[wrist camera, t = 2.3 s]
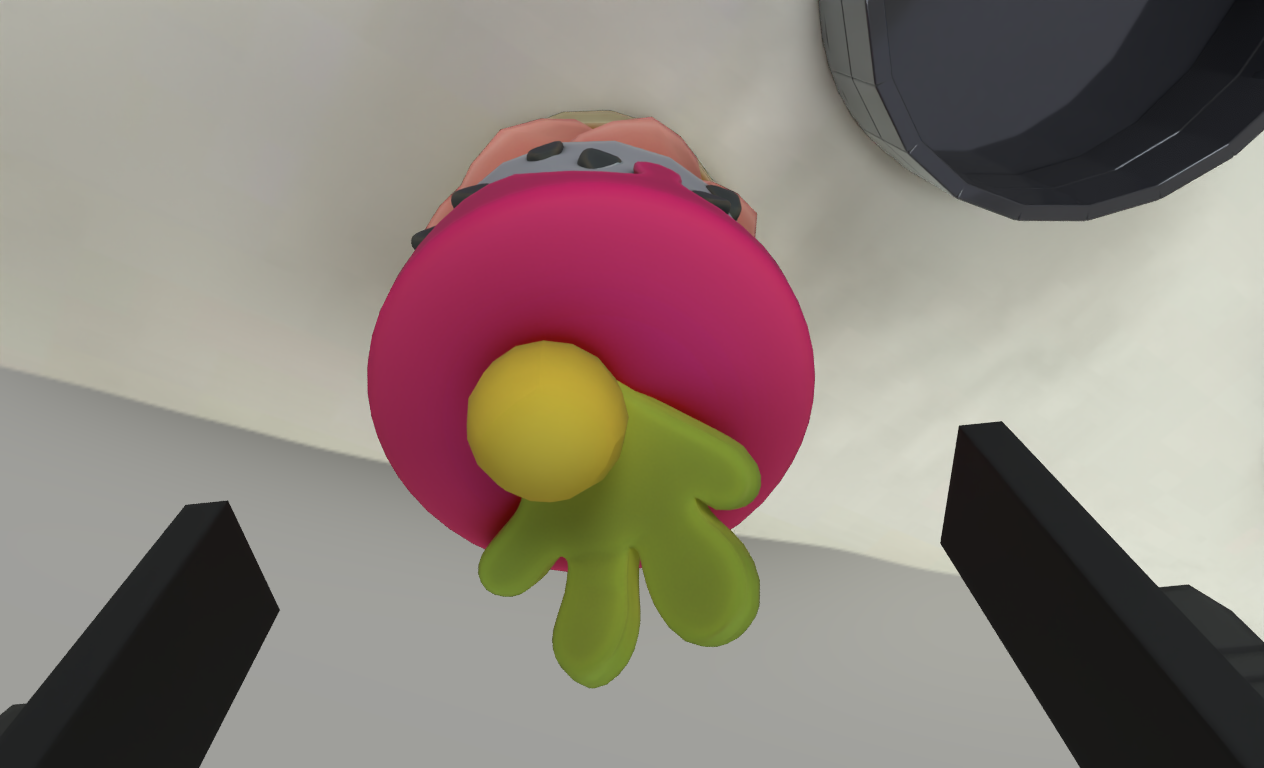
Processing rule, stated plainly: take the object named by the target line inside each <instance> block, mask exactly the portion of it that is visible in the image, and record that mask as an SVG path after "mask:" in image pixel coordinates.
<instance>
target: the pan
mask: <svg viewBox="0 0 1264 768" xmlns="http://www.w3.org/2000/svg"><path fill="white" fill-rule="evenodd" d="M819 12H820V21H821V30H822V39H823V43H824V48H825V52H826V56H827V60H828V64H829V68H830V71H831V73H832V76H833V78H834V81H835V84H836V86H837V89H838V91H839V94H840V95H841V97H842V99H843V101H844V103H845V104H846V106H847V108H848V110H849V111H850V113H851V115H852V117H853V118H854V119H855V120H856V122H857V123H858V124H859V126H860V127H861V128H862V129H863V131H864V132H865V133H866V134H867V136H868V137H869V138H871V139H872V140H873V141H874V142H875V143H876V144H877V145H878V146H879V147H880V148H881V149H882V150H883V151H884V152H886V153H887V154H889V155H890V156H892V157H893V158H894V159H895V160H896V161H897V162H898V163H899V164H901V165H902V166H903V167H904V168H906V169H907V170H909V171H911V172H912V173H914V174H916V175H917V176H919V177H921V178H922V179H924V180H926V181H928V182H929V183H931V184H933V185H934V186H936V187H938V188H940V189H941V190H943V191H945V192H946V193H948V194H950V195H951V196H953V197H955V198H957V199H959V200H962V201H964V202H967V203H970V204H972V205H975V206H978V207H980V208H983V209H986V210H989V211H991V212H994V213H997V214H999V215H1002V216H1005V217H1007V218H1010V219H1013V220H1018V221H1086V220H1087V221H1088V220H1092V219H1095V218H1099V217H1102V216H1105V215H1109V214H1112V213H1116V212H1119V211H1122V210H1126V209H1129V208H1133V207H1136V206H1140V205H1143V204H1146V203H1150V202H1153V201H1157V200H1159V199H1161V198H1164V197H1165V196H1167V195H1169V194H1171V193H1172V192H1174V191H1176V190H1177V189H1179V188H1181V187H1183V186H1184V185H1186V184H1188V183H1190V182H1191V181H1193V180H1195V179H1196V178H1198V177H1200V176H1202V175H1203V174H1205V173H1207V172H1209V171H1210V170H1212V169H1214V168H1215V167H1217V166H1219V165H1221V164H1222V163H1224V162H1226V161H1228V160H1229V159H1231V158H1233V156H1235V155H1237V154H1238V153H1239V152H1240V151H1241V150H1242V149H1243V148H1245V147H1246V146H1247V145H1248V144H1249V143H1250V142H1251V141H1252V140H1253V139H1255V138H1256V137H1257V136H1258V135H1259V134H1260V133H1261V132H1262V131H1263V130H1264V0H819Z"/></svg>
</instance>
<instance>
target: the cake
mask: <svg viewBox="0 0 1264 768" xmlns="http://www.w3.org/2000/svg"><path fill="white" fill-rule="evenodd" d="M756 221H757V213H756V212H755V211H754V210H753V209H752V208H751V207H750V206H749V205H748V204H747V203H746V202H745V201H744V200H743V199H742V198H741V197H740V196H739V195H738V194H737V193H735V192H733V191H731V190H729V189H727V188H725V187H723V186H721V185H719V184H716V183H714V182H713V180H712V179H711V178H710V176H709V175H708V173H707V172H706V170H705V169H704V168H703V166H702V165H701V163H700V162H699V160H698V159H697V157H696V156H695V155H694V153H693V152H692V151H691V150H690V148H689V147H688V146H687V144H686V143H685V142H684V140H683V139H682V138H681V136H679V135H678V134H676V133H675V132H673V131H672V130H671V129H669V128H668V127H666V126H665V125H663V124H662V123H660V122H659V121H657V120H656V119H654V118H653V117H646V118H637V119H636V118H633V117H630V116H626V115H623V114H620V113H617V112H614V111H579V112H562V113H559V114H557V115H554V116H551V117H549V118H546V119H538V120H534V121H530V122H527V123H523V124H519V125H516V126H512V127H508V128H504V129H501V130H500V131H499V132H498V133H497V134H496V135H495V137H494V138H493V139H492V140H491V141H490V143H489V144H488V145H487V146H486V147H485V148H484V150H483V151H482V152H481V153H480V154H479V156H478V157H477V158H476V159H475V160H474V161H473V163H472V164H471V165H470V167H469V170H468V172H467V174H466V176H465V178H464V180H463V182H462V184H461V186H460V187H459V188H458V189H457V190H456V191H455V192H454V193H452V194H451V195H450V196H449V197H448V198H447V199H446V200H445V201H444V202H443V203H442V204H441V205H440V206H439V208H438V209H437V211H436V213H435V214H434V216H433V217H432V219H431V221H430V222H429V224H428V226H427V227H426V229H425V230H423V231H420V232H418V233H416V234H415V235H414V236H413V237H412V240H411V244H412V247H413V248H414V250H415V251H414V252H413V254H412V255H411V257H410V258H409V260H408V261H407V262H406V264H405V265H404V267H403V268H402V270H401V271H400V273H399V274H398V276H397V278H396V280H395V282H394V284H393V286H392V288H391V290H390V292H389V294H388V296H387V298H386V300H385V302H384V304H383V306H382V308H381V310H380V312H379V316H378V319H377V322H376V325H375V328H374V331H373V334H372V339H371V346H370V352H369V358H368V367H367V378H368V398H369V404H370V410H371V416H372V419H373V423H374V426H375V430H376V433H377V436H378V439H379V441H380V443H381V445H382V448H383V450H384V452H385V455H386V457H387V459H388V460H389V462H390V464H391V465H392V467H393V469H394V471H395V472H396V474H397V475H398V477H399V478H400V480H401V481H402V482H403V484H404V485H405V486H406V488H407V489H408V490H409V491H410V493H411V494H412V495H413V496H414V497H415V498H416V499H417V500H418V501H419V502H420V504H421V505H422V506H423V507H424V508H425V509H426V510H427V511H428V512H429V513H431V514H432V515H433V516H434V517H435V518H437V519H438V520H439V521H440V522H441V523H443V524H444V525H445V526H446V527H448V528H449V529H450V530H452V531H454V532H455V533H457V534H458V535H460V536H462V537H463V538H465V539H466V540H468V541H470V542H471V543H473V544H475V545H477V546H479V547H481V548H483V549H485V551H484V552H483V554H482V556H481V559H480V562H479V567H478V568H479V569H478V574H479V577H480V580H481V583H482V584H483V586H484V587H485V588H486V590H488V591H489V592H491V593H493V594H495V595H500V596H503V597H504V596H505V597H513V596H516V595H520V594H522V593H523V592H525V591H526V590H528V589H529V588H531V586H533V585H534V584H536V583H537V582H538V581H539V580H541V579H542V578H543V577H544V576H545V575H546V574H547V573H548V571H549V570H558V571H566V572H568V574H567V583H566V588H565V594H564V597H563V600H562V603H561V606H560V609H559V612H558V615H557V619H556V622H555V626H554V630H553V638H552V643H553V650H554V654H555V657H556V659H557V661H558V663H559V664H560V666H561V668H562V669H563V670H564V671H565V672H566V673H567V674H568V675H569V676H570V677H571V678H572V679H573V680H574V681H576V682H577V683H579V684H581V685H584V686H586V687H588V688H597V687H600V686H603V685H606V684H608V683H609V682H610V681H612V680H613V679H614V678H615V677H617V676H618V675H619V674H620V672H621V671H622V670H623V669H624V667H625V666H626V665H627V664H628V662H629V660H630V658H631V656H632V653H633V652H634V649H635V645H636V642H637V638H638V634H639V627H640V598H639V568H642V569H643V573H644V577H645V581H646V584H647V588H648V590H649V593H650V595H651V598H652V600H653V603H654V605H655V607H656V608H657V610H658V612H659V614H660V615H661V617H662V618H663V619H664V621H665V622H666V624H667V625H668V626H669V628H670V629H672V630H673V631H674V632H675V633H676V634H677V635H679V636H680V637H681V638H682V639H683V640H685V641H687V642H690V643H693V644H696V645H700V646H705V647H718V646H721V645H724V644H728V643H729V642H731V641H733V640H735V639H737V638H738V637H739V636H741V635H742V634H743V633H744V632H745V631H746V630H747V628H748V627H749V626H750V624H751V623H752V621H753V620H754V618H755V617H756V614H757V611H758V608H759V603H760V601H759V600H760V580H759V576H758V573H757V570H756V566H755V563H754V561H753V559H752V557H751V556H750V554H749V552H748V551H747V549H746V547H745V546H744V544H743V543H742V542H741V541H740V540H739V539H738V538H737V536H736V535H735V534H734V533H733V532H732V531H731V529H732V528H734V527H735V526H737V525H738V524H740V523H741V522H742V521H743V520H744V519H745V518H746V517H747V516H749V515H750V514H751V513H752V512H753V511H754V510H755V509H756V508H757V507H759V506H760V505H761V504H762V503H763V502H764V501H765V499H766V498H767V497H768V496H769V494H770V493H771V492H772V491H773V490H774V488H775V487H776V486H777V485H778V484H779V482H780V481H781V480H782V478H783V476H784V475H785V473H786V471H787V470H788V468H789V467H790V465H791V464H792V462H793V460H794V458H795V456H796V454H797V452H798V450H799V448H800V446H801V444H802V441H803V438H804V435H805V432H806V429H807V426H808V424H809V420H810V415H811V410H812V405H813V397H814V384H815V371H814V356H813V348H812V344H811V340H810V335H809V331H808V326H807V324H806V321H805V318H804V316H803V313H802V310H801V308H800V305H799V302H798V300H797V298H796V296H795V295H794V293H793V291H792V289H791V287H790V285H789V283H788V282H787V280H786V278H785V276H784V274H783V273H782V271H781V269H780V268H779V266H778V264H777V263H776V262H775V260H774V259H773V258H772V257H771V255H770V254H769V253H768V251H767V250H766V249H765V248H764V246H763V245H762V244H761V243H760V242H759V241H758V240H757V239H756V238H755V233H756Z"/></svg>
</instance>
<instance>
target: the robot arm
mask: <svg viewBox="0 0 1264 768" xmlns="http://www.w3.org/2000/svg"><path fill="white" fill-rule="evenodd" d="M940 544H941V545H942V547H943V548H944V550H945V552H946V553H947V555H948V556H949V558H950V560H951V561H952V563H953V564H954V566H955V568H956V569H957V571H958V572H959V574H960V576H961V577H962V579H963V580H964V582H965V584H966V585H967V587H968V588H969V590H970V592H971V593H972V595H973V596H974V598H975V600H976V601H977V603H978V604H979V606H980V607H981V609H982V611H983V612H984V614H985V616H986V617H987V619H988V620H989V622H990V624H991V625H992V627H993V629H994V630H995V631H996V633H997V635H998V636H999V638H1000V640H1001V641H1002V643H1003V644H1004V646H1005V648H1006V649H1007V651H1008V652H1009V654H1010V656H1011V657H1012V659H1013V661H1014V662H1015V664H1016V665H1017V667H1018V669H1019V670H1020V672H1021V673H1022V675H1023V676H1024V678H1025V680H1026V681H1027V683H1028V684H1029V686H1030V688H1031V689H1032V691H1033V692H1034V694H1035V696H1036V697H1037V699H1038V701H1039V702H1040V704H1041V705H1042V707H1043V709H1044V710H1045V712H1046V714H1047V715H1048V717H1049V718H1050V719H1051V721H1052V723H1053V725H1054V726H1055V728H1056V730H1057V731H1058V733H1059V734H1060V736H1061V738H1062V739H1063V741H1064V742H1065V744H1066V746H1067V747H1068V749H1069V750H1070V752H1071V754H1072V755H1073V757H1074V758H1075V760H1076V762H1077V763H1078V765H1079V766H1080V768H1264V642H1263V641H1262V640H1261V639H1260V638H1259V637H1258V636H1257V635H1256V634H1255V633H1254V632H1253V631H1252V630H1251V629H1250V628H1249V627H1248V626H1247V625H1246V624H1245V623H1244V622H1243V621H1242V620H1241V619H1239V618H1238V617H1237V616H1236V615H1235V614H1234V613H1233V612H1232V611H1231V610H1229V609H1228V608H1226V607H1224V606H1223V605H1221V604H1219V603H1218V602H1216V601H1215V600H1213V599H1211V598H1210V597H1208V596H1206V595H1205V594H1203V593H1202V592H1200V591H1198V590H1197V589H1195V588H1193V587H1192V586H1190V585H1179V586H1169V587H1158V586H1157V585H1156V584H1155V583H1154V582H1153V581H1152V580H1151V579H1150V578H1149V577H1148V576H1147V574H1146V573H1145V572H1144V571H1143V570H1142V569H1141V568H1140V567H1139V566H1138V565H1137V564H1136V563H1135V562H1134V561H1133V560H1132V559H1131V558H1130V556H1129V555H1128V554H1127V553H1126V552H1125V551H1124V550H1123V549H1122V548H1121V547H1120V546H1119V545H1118V544H1117V543H1116V542H1115V541H1114V540H1113V538H1112V537H1111V536H1110V535H1109V534H1108V533H1107V532H1106V531H1105V530H1104V529H1103V528H1102V527H1101V526H1100V525H1099V524H1098V523H1097V522H1096V520H1095V519H1094V518H1093V517H1092V516H1091V515H1090V514H1089V513H1088V512H1087V511H1086V510H1085V509H1084V508H1083V507H1082V506H1081V505H1080V503H1079V502H1078V501H1077V500H1076V499H1075V498H1074V497H1073V496H1072V495H1071V494H1070V493H1069V492H1068V491H1067V490H1066V489H1065V488H1064V487H1063V485H1062V484H1061V483H1060V482H1059V481H1058V480H1057V479H1056V478H1055V477H1054V476H1053V475H1052V474H1051V473H1050V472H1049V471H1048V470H1047V469H1046V467H1045V466H1044V465H1043V464H1042V463H1041V462H1040V461H1039V460H1038V459H1037V458H1036V457H1035V456H1034V455H1033V454H1032V453H1031V452H1030V451H1029V449H1028V448H1027V447H1026V446H1025V445H1024V444H1023V443H1022V442H1021V441H1020V440H1019V439H1018V438H1017V437H1016V436H1015V435H1014V434H1013V433H1012V431H1011V430H1010V429H1009V428H1008V427H1007V426H1006V425H1005V424H1004V423H1003V422H1002V421H1000V422H991V423H981V424H971V425H961V426H959V429H958V435H957V441H956V448H955V454H954V460H953V466H952V473H951V479H950V485H949V492H948V498H947V504H946V510H945V517H944V523H943V529H942V536H941V542H940ZM279 611H280V609H279V607H278V605H277V603H276V601H275V599H274V597H273V595H272V593H271V591H270V588H269V587H268V584H267V582H266V580H265V578H264V576H263V574H262V571H261V569H260V567H259V565H258V563H257V561H256V559H255V557H254V555H253V553H252V550H251V548H250V546H249V544H248V542H247V540H246V538H245V536H244V533H243V531H242V529H241V527H240V525H239V523H238V521H237V519H236V517H235V514H234V512H233V510H232V508H231V506H230V504H229V502H228V501H219V502H210V503H200V504H190V505H185V506H184V508H183V509H182V510H181V512H180V513H179V514H178V515H177V516H176V518H175V519H174V520H173V521H172V523H171V524H170V525H169V526H168V528H167V529H166V530H165V531H164V533H163V534H162V535H161V536H160V538H159V539H158V540H157V542H156V543H155V544H154V545H153V546H152V548H151V549H150V550H149V551H148V553H147V554H146V555H145V556H144V558H143V559H142V560H141V561H140V563H139V564H138V565H137V566H136V568H135V569H134V570H133V572H132V573H131V574H130V575H129V576H128V578H127V579H126V580H125V581H124V583H123V584H122V585H121V586H120V588H119V589H118V590H117V591H116V593H115V594H114V595H113V596H112V598H111V599H110V600H109V601H108V603H107V604H106V605H105V606H104V608H103V609H102V610H101V612H100V613H99V614H98V615H97V616H96V618H95V619H94V620H93V621H92V623H91V624H90V625H89V626H88V628H87V629H86V630H85V631H84V633H83V634H82V635H81V636H80V638H79V639H78V640H77V641H76V643H75V644H74V645H73V646H72V648H71V649H70V650H69V651H68V653H67V654H66V655H65V656H64V658H63V659H62V660H61V661H60V663H59V664H58V665H57V666H56V668H55V669H54V670H53V671H52V673H51V674H50V675H49V676H48V678H47V679H46V680H45V681H44V683H43V684H42V685H41V686H40V688H39V689H38V690H37V691H36V693H35V694H34V695H33V696H32V698H31V699H30V700H29V701H28V703H27V704H16V705H12V706H11V707H9V708H8V709H7V710H6V711H5V712H3V713H2V714H1V715H0V768H199V767H200V765H201V763H202V761H203V759H204V757H205V755H206V753H207V751H208V749H209V747H210V745H211V743H212V741H213V740H214V738H215V736H216V733H217V732H218V730H219V728H220V726H221V724H222V722H223V720H224V718H225V716H226V714H227V712H228V710H229V708H230V706H231V704H232V702H233V700H234V699H235V696H236V695H237V692H238V691H239V689H240V687H241V685H242V683H243V681H244V679H245V677H246V675H247V673H248V671H249V669H250V667H251V665H252V663H253V661H254V659H255V658H256V656H257V654H258V652H259V650H260V648H261V646H262V644H263V642H264V640H265V638H266V636H267V634H268V632H269V630H270V628H271V626H272V624H273V622H274V620H275V618H276V616H277V614H278V612H279Z"/></svg>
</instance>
